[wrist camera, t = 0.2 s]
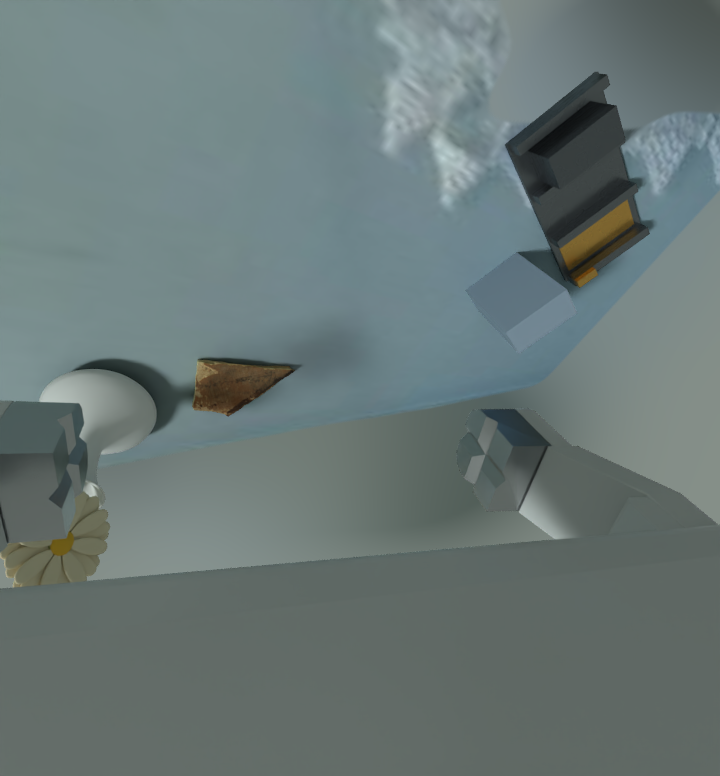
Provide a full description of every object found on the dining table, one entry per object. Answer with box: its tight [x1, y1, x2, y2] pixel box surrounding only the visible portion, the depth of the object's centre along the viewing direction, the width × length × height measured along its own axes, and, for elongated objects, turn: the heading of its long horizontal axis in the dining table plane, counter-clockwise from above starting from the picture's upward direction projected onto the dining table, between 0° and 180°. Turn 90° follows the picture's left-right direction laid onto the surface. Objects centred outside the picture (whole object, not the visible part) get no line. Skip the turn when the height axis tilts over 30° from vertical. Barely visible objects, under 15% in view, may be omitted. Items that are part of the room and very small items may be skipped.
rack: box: [505, 72, 650, 288], centre depth 49 cm, size 10×19×4 cm, turn 36°
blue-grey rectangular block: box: [465, 252, 577, 354], centre depth 52 cm, size 7×4×10 cm, turn 126°
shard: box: [192, 359, 295, 416], centre depth 56 cm, size 11×8×2 cm
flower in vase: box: [0, 369, 157, 588], centre depth 43 cm, size 13×11×25 cm
